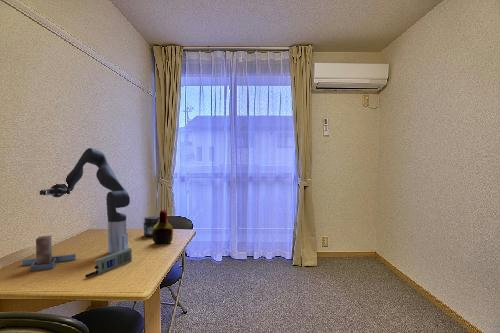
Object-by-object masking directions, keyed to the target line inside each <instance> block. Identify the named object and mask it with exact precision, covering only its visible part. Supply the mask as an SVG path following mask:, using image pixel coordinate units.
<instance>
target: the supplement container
mask: <svg viewBox="0 0 500 333" xmlns="http://www.w3.org/2000/svg"><path fill="white" fill-rule="evenodd" d="M143 219H144V220H143V221H144V222H143V236H144V237H145V238H153V236H152V231H153V227H154V226H155V225H156V224H157V223H158V222H159V216H156V215H154V216H146V217H143Z"/></svg>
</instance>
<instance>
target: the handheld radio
mask: <svg viewBox="0 0 500 333" xmlns="http://www.w3.org/2000/svg"><path fill="white" fill-rule="evenodd" d="M132 250H133V249H132V248H131V247H128V248H127V249H124V250H122V251H119V252H116V253H113V254H107V255H105V256H102V257H100V258H99V257H98V258H97V259H94V265H95V266H94V268H93V269H94V270H95V271H93V272H92V271H91V272H88V273H87V274H85V276H84V277H85V279H86V278H87V279H88V278H89V277H90V278H91V277H92V276H95V275H101V274H104V273H107V272H108V271H111V270H113V269H116V268H118V267H121V266H123V265H126V264H128V263H131V262H132V261H133V254H132V252H133V251H132Z"/></svg>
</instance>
